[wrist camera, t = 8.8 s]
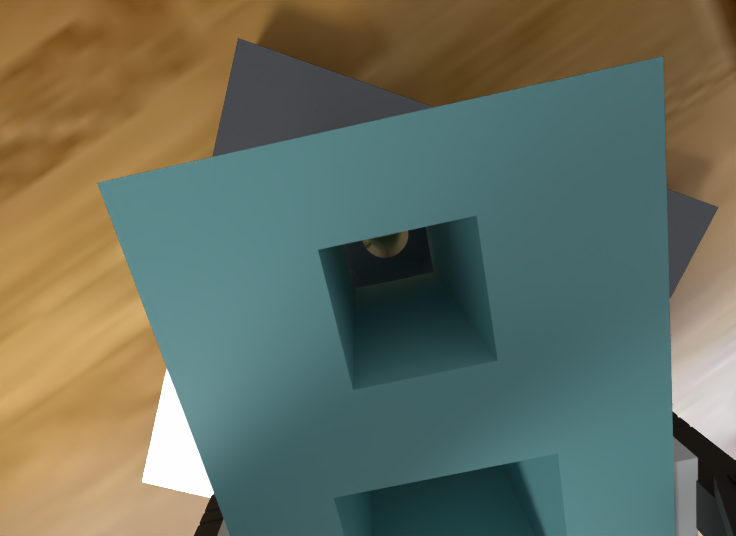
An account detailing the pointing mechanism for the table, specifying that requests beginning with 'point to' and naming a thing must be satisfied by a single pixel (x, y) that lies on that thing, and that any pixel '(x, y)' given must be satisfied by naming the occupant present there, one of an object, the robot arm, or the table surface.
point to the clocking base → (366, 257)
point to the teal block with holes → (426, 317)
